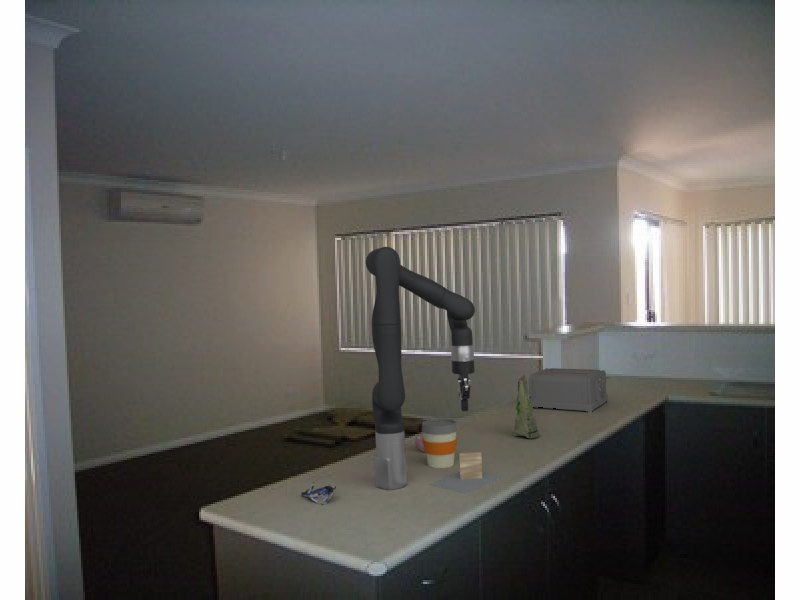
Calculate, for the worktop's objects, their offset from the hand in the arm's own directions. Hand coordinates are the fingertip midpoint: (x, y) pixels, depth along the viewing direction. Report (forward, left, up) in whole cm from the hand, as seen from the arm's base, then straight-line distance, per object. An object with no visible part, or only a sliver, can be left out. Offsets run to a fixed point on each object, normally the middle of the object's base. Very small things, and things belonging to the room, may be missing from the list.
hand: (464, 410), depth 201 cm
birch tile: (-5, -5, -20) cm, 22 cm away
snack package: (-46, +22, -21) cm, 55 cm away
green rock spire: (+54, +10, -21) cm, 59 cm away
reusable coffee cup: (+2, +13, -21) cm, 25 cm away
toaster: (+124, +24, -21) cm, 128 cm away
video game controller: (+16, +31, -21) cm, 41 cm away
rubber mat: (-8, -6, -21) cm, 23 cm away
